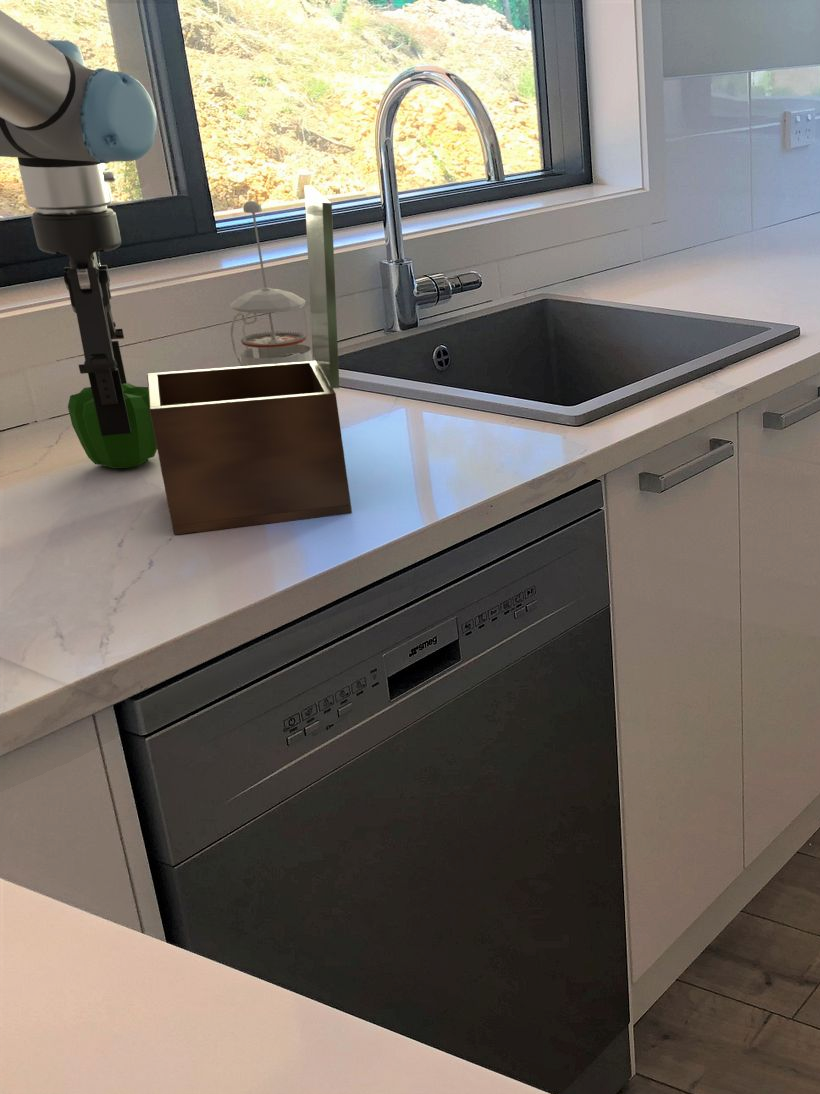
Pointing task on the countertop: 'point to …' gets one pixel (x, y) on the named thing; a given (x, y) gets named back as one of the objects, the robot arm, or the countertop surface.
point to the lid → (322, 284)
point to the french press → (270, 301)
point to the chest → (248, 445)
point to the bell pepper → (122, 446)
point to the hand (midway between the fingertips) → (116, 417)
